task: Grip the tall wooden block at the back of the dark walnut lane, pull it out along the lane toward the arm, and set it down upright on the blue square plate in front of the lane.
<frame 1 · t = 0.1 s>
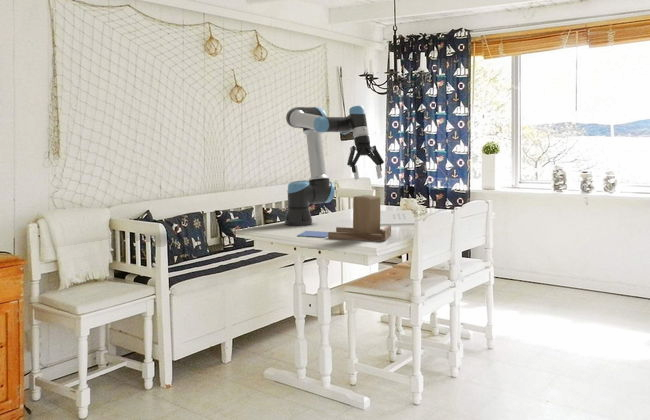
hand: (368, 178, 311), 28 cm above the table, tool tilted 20°, fingers open, 13 cm apart
wooden block: (366, 237, 308), resting in walnut lane
blue square plate: (315, 234, 315), on the table
walnut lane: (358, 236, 309), on the table
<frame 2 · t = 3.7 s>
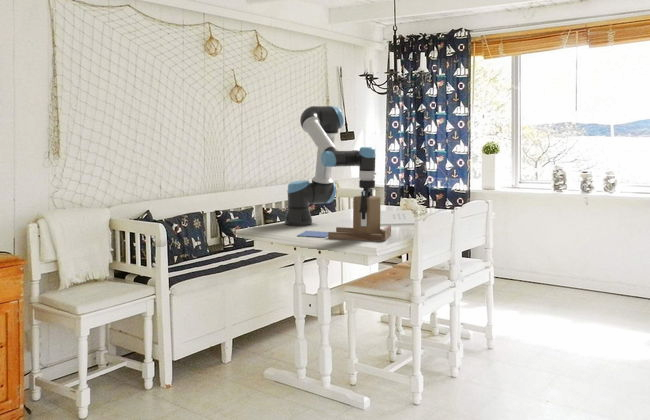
hand: (366, 224, 307), 6 cm above the table, tool pointing down, fingers closed on wooden block, 12 cm apart
wooden block: (366, 237, 308), resting in walnut lane, touching gripper
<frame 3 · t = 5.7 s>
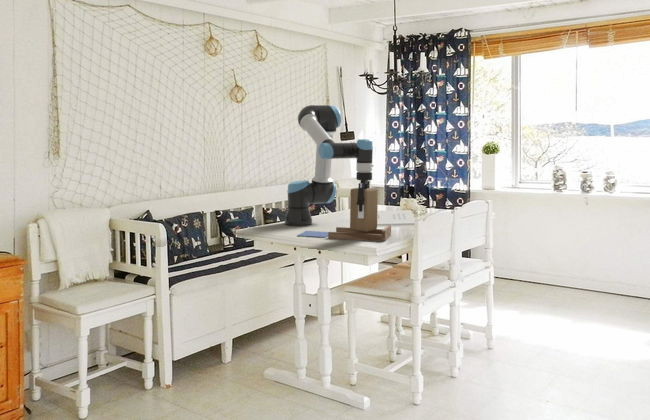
hand: (363, 216, 307), 10 cm above the table, tool pointing down, fingers closed on wooden block, 12 cm apart
wooden block: (363, 230, 308), point 4 cm above the table, touching gripper
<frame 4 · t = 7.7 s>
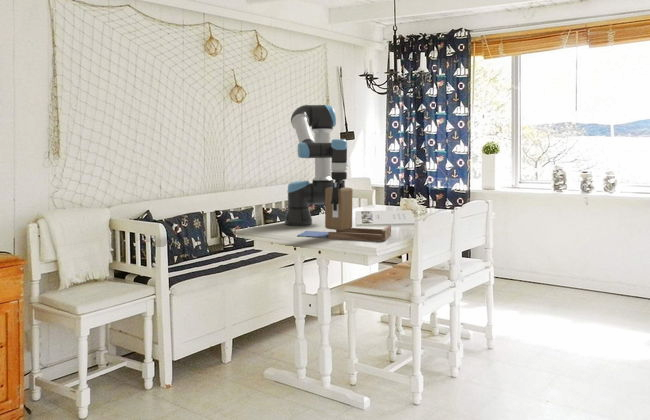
hand: (338, 215, 311), 10 cm above the table, tool pointing down, fingers closed on wooden block, 12 cm apart
wooden block: (338, 228, 312), point 3 cm above the table, touching gripper
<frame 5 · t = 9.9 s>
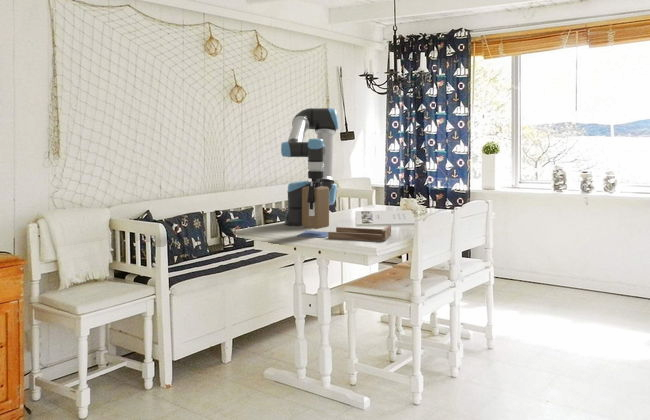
hand: (315, 214, 314), 10 cm above the table, tool pointing down, fingers closed on wooden block, 12 cm apart
wooden block: (315, 227, 315), point 4 cm above the table, touching gripper
when the fingers open (8 cm above the table, at t = 11.7 s): wooden block stays where it is, resting on blue square plate.
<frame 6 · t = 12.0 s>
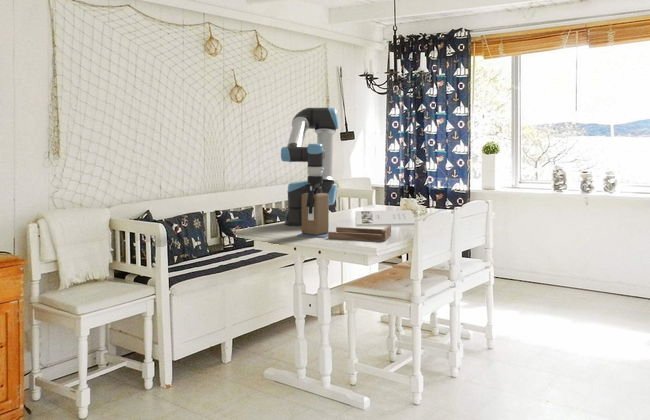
hand: (315, 218, 314), 8 cm above the table, tool pointing down, fingers open, 13 cm apart
wooden block: (315, 234, 315), resting on blue square plate
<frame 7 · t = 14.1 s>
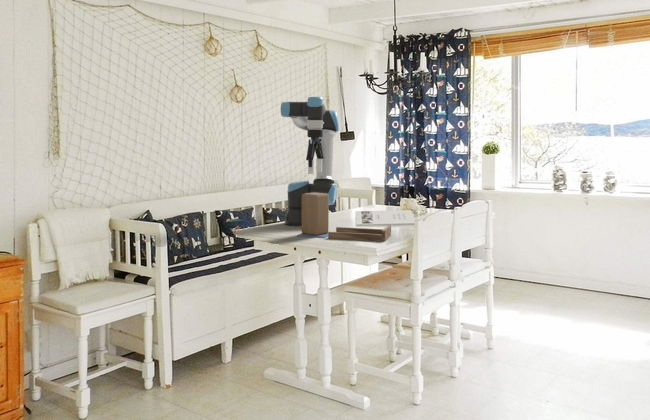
hand: (315, 172, 311), 31 cm above the table, tool pointing down, fingers open, 13 cm apart
nothing on the table moved.
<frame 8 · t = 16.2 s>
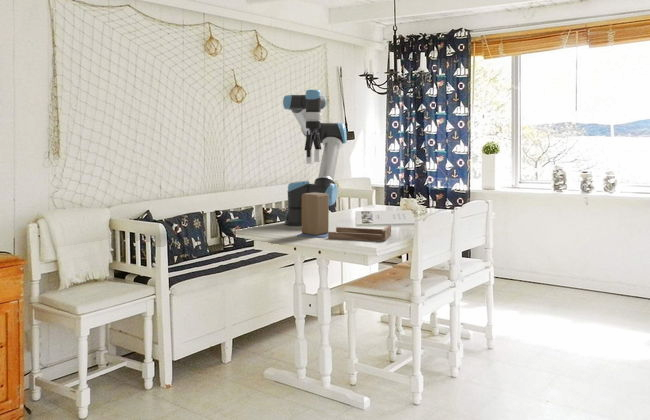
hand: (313, 162, 324), 35 cm above the table, tool pointing down, fingers open, 13 cm apart
nothing on the table moved.
at the end: wooden block inside the target area (0.1 cm from its centre), resting on blue square plate; wooden block tilted 0°; the gripper is holding nothing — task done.
